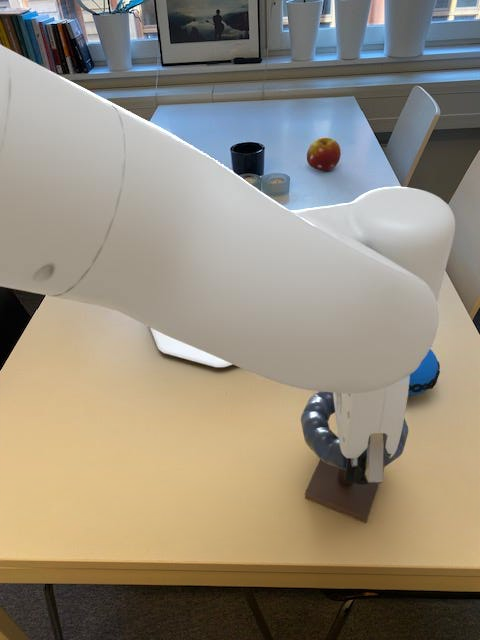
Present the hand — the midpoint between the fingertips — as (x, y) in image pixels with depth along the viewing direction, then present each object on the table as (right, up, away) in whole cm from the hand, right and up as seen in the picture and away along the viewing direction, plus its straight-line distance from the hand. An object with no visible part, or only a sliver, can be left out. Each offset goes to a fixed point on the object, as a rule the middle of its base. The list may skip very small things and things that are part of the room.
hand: (357, 461), depth 53 cm
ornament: (+13, +5, +23) cm, 27 cm away
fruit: (+11, +59, +88) cm, 106 cm away
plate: (-16, +16, +39) cm, 45 cm away
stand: (+1, -6, +11) cm, 12 cm away
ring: (0, +3, +3) cm, 4 cm away
